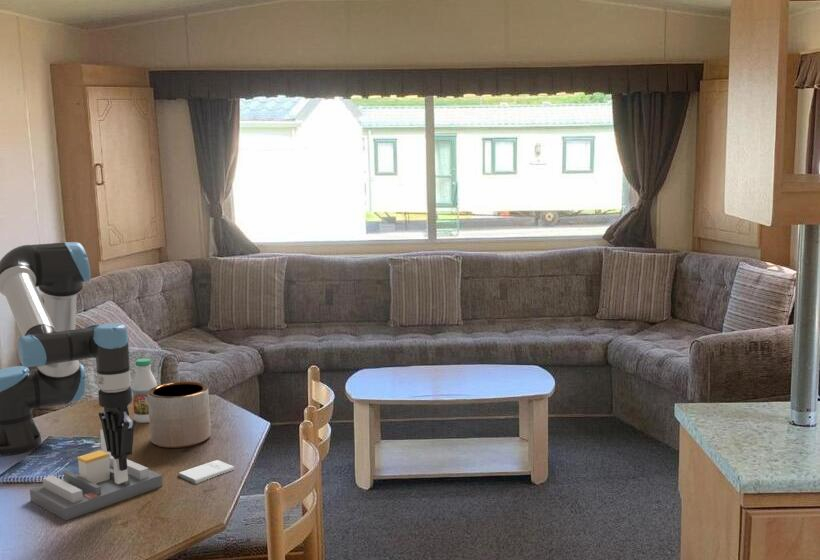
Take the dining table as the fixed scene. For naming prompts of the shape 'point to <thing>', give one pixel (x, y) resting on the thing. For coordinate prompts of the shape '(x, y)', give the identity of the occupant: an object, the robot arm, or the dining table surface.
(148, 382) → the milk bottle
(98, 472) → the block
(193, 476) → the external hard drive
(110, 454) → the white angled block
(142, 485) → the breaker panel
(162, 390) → the planter
